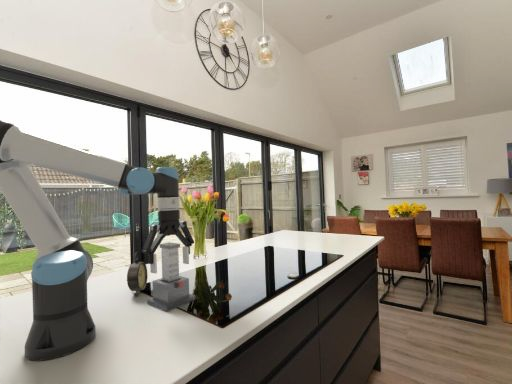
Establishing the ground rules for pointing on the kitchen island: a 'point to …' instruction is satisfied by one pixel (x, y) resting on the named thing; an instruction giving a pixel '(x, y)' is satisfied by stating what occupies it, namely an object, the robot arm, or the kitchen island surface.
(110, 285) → the kitchen island surface
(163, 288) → the stand base
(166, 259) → the column
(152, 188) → the robot arm
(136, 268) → the alarm clock
